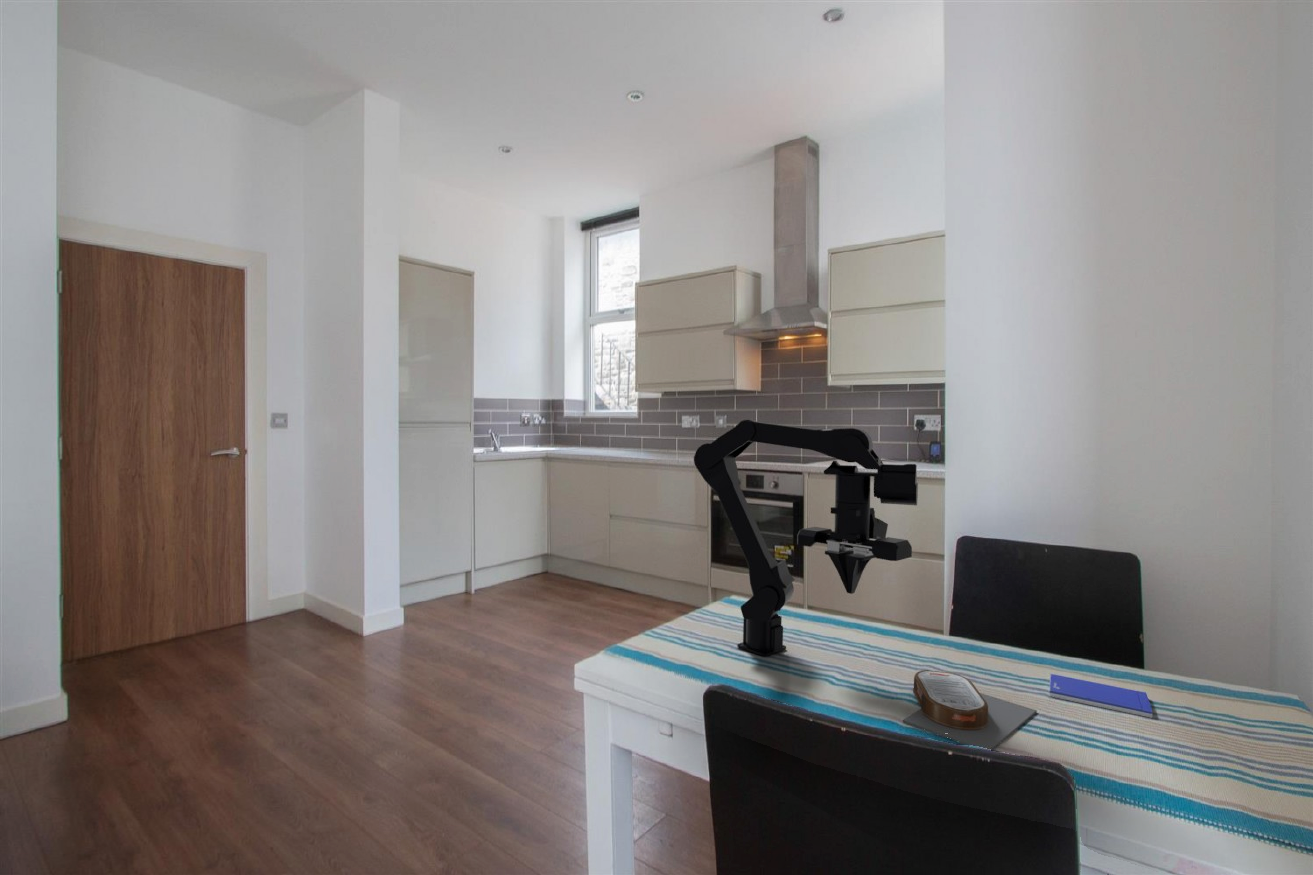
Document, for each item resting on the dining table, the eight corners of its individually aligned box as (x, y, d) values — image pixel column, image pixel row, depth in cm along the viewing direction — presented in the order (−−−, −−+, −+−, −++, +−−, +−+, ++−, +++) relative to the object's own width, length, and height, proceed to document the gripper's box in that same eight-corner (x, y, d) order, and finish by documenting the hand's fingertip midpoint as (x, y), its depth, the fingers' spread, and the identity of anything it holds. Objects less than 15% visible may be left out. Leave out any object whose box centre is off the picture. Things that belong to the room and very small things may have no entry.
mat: (902, 721, 86) (902, 719, 86) (957, 687, 98) (957, 685, 98) (988, 753, 78) (988, 751, 78) (1036, 712, 90) (1036, 710, 90)
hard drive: (1049, 689, 96) (1152, 710, 89) (1050, 672, 103) (1146, 690, 96) (1049, 699, 96) (1152, 721, 89) (1049, 681, 103) (1145, 701, 96)
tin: (929, 726, 84) (997, 737, 82) (931, 702, 84) (1000, 714, 82) (907, 682, 99) (964, 691, 97) (909, 662, 99) (966, 671, 97)
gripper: (928, 504, 106) (926, 596, 106) (831, 494, 120) (829, 576, 120) (895, 508, 98) (893, 608, 98) (796, 498, 112) (794, 585, 112)
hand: (850, 593), depth 107 cm, fingers closed
